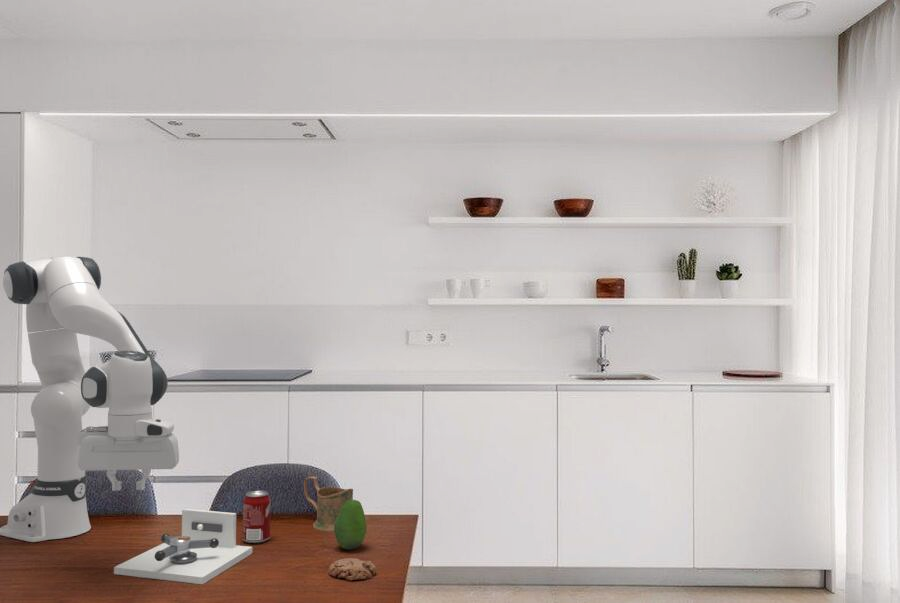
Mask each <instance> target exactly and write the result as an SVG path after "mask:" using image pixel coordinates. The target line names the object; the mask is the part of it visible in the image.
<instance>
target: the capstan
mask: <svg viewBox="0 0 900 603" xmlns="http://www.w3.org/2000/svg"><path fill="white" fill-rule="evenodd" d="M190 540H191V538H190V537H188V536H182V535H179V536H172V535H171V534H169V533H163V534H162V535H161V537H160V541H161V542H162V544H163V543H166V544H168V545H170V546H169V547H167V548H165V549H163V550H160V551H157V552H156V553H155V559H156V560H157V561H162V560H163V559H164V558H166V557H168V556H170V561H171V562H173V563H189V562H192V561H195V560H196V559H197V554H196V553H195V552H190V549H196V548H210V547H211V548H216V547H217V546H218V545H219V541H218V539H216V538H213V539H210V540H195V541H190Z"/></svg>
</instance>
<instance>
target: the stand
mask: <svg viewBox="0 0 900 603" xmlns="http://www.w3.org/2000/svg"><path fill="white" fill-rule="evenodd" d="M181 536H188V537H190V538H191V540H190V541H195V540H210V539H213V538H216V539H218V541H219V545H218V546H217V547H216V548H211V547H210V548H196V549H190V552H195V553H196V554H197V559H196V560H195V561H192V562H189V563H173V562H171V561H170V556H168V557H166V558H164V559H163V560H162V561H157V560H156V559H155V553H156V552H157V551H160V550H163V549H165V548H167V547H169V546H170V545H168V544H166V543H163V542H162V543H161V544H158V545H157V546H155V547H152V548H151V549H148V550H146V551H145V552H142V553H140V554H138V555H136V556H134V557H132V558H129V559H128V560H126V561H124V562H122V563H119V564H117V565H116V566H114V567H113V575H119V576H120V575H121V576H129V577H137V578H144V579H146V578H147V579H153V580H161V581H162V580H163V581H171V582H179V583H188V584H196V585H204V584H205V583H207V582H209V581H211V580H212V579H213V578H216V577H217V576H218V575H220V574H221V573H223V572H225V571H227V570H228V569H229V568H231V567H233V566H235V565H236V564H237V563H239V562H241V561H243V559H244V560H245V558H247V557H249V556H250V555H252V554H253V550H254V549H253V546H246V545H245V546H244V545H238V544H237V512H226V511H215V510H202V509H193V508H183V509H182V510H181Z"/></svg>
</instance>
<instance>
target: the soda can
mask: <svg viewBox="0 0 900 603" xmlns="http://www.w3.org/2000/svg"><path fill="white" fill-rule="evenodd" d="M241 533H242V534H241V535H242V538H241V540H242V541H244V542H246V544H247V543H248V544H251V543H253V545H255V544H256V543H257V544H262V543H265V542H266V541H268V540H269V539H270V538H271V497H270V496H269V492H268V491H265V490H251V491H247V492H246V493H245V497H244V499H243V500H242V532H241ZM254 543H255V544H254Z"/></svg>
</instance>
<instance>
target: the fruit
mask: <svg viewBox="0 0 900 603" xmlns="http://www.w3.org/2000/svg"><path fill="white" fill-rule="evenodd" d="M333 533H334V536H335V539H336V540H335V541H336V543H337V544H338V545H339V546H340V547H341V548H342V549H344V550H348V551H349V550H354V549H357V548H358V547H360V546H361V544H363V542H364V540H365V537H366V533H367V520H366V516H365V511H364V508H363V505H362V503H361V502H360V500H356V499H353V500H349V501H347V502H345V503H344V504H343V506H342V508H341V510H340V512H339V514H338V516H337V518H336V521H335V524H334V532H333Z"/></svg>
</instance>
